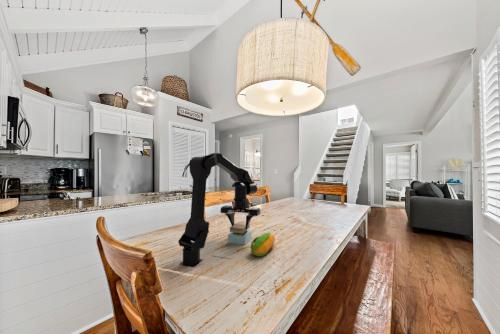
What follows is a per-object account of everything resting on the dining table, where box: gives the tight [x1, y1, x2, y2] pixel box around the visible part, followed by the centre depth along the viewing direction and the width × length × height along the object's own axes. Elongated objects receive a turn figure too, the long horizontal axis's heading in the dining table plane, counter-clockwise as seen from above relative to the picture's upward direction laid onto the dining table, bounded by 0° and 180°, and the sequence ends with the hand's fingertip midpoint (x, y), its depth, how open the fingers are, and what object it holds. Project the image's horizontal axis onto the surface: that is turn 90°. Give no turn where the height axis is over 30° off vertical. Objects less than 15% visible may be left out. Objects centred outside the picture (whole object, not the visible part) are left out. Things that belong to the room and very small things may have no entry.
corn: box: [249, 232, 276, 258], centre depth 88 cm, size 7×8×20 cm
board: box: [229, 221, 251, 233], centre depth 99 cm, size 10×6×2 cm, turn 162°
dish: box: [227, 229, 253, 246], centre depth 99 cm, size 10×9×4 cm
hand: (240, 228), depth 99 cm, fingers closed on board, 6 cm apart
